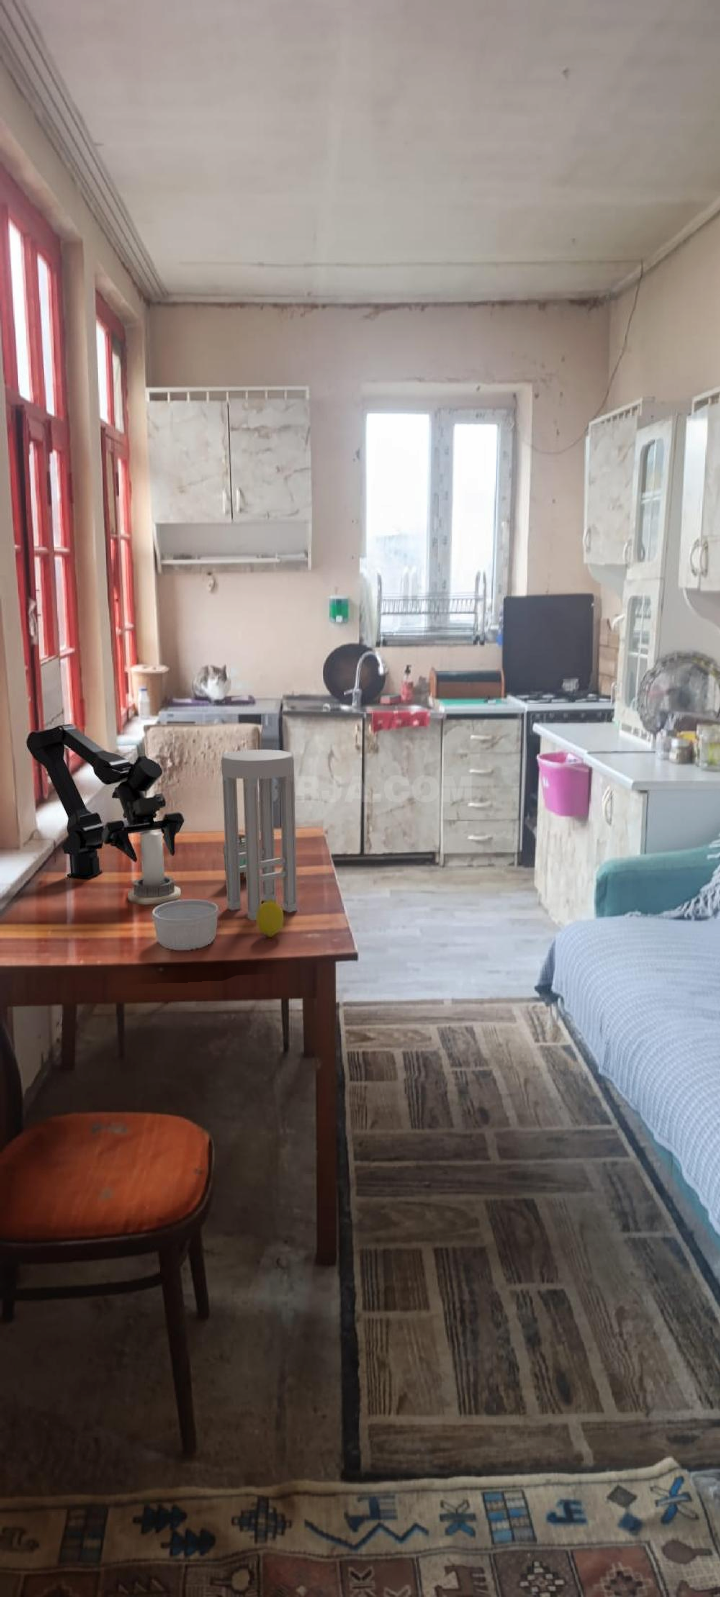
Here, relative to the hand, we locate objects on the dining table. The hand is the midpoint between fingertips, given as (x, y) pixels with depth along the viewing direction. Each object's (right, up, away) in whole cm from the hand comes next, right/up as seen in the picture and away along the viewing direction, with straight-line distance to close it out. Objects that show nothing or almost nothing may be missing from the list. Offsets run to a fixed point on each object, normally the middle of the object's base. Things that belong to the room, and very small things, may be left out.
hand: (155, 857), depth 228 cm
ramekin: (+12, -16, -27) cm, 33 cm away
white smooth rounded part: (-1, -8, +3) cm, 9 cm away
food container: (+19, -6, +17) cm, 26 cm away
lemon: (+29, -15, -25) cm, 41 cm away
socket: (-1, -9, +3) cm, 10 cm away
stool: (+25, -11, -7) cm, 29 cm away
